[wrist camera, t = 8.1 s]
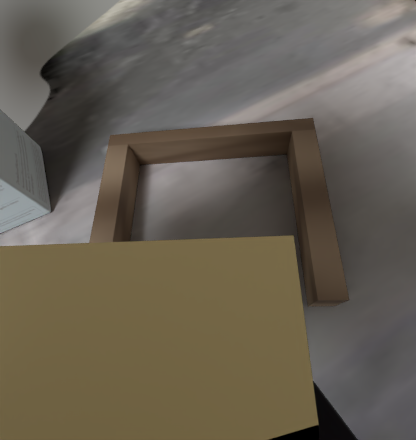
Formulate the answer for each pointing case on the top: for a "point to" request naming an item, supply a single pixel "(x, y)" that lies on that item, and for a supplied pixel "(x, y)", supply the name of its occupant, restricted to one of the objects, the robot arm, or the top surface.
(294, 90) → the top surface
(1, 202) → the supplement box
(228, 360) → the ochre block
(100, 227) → the frame
